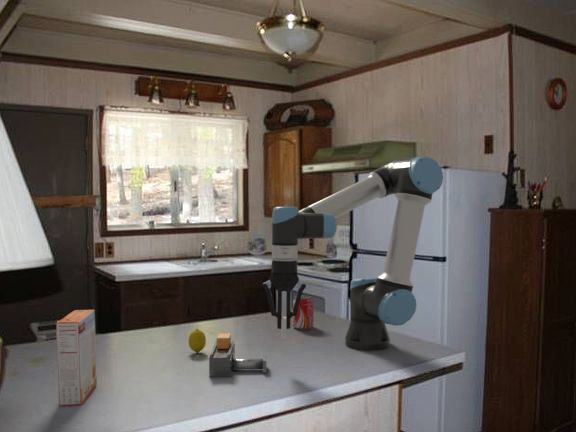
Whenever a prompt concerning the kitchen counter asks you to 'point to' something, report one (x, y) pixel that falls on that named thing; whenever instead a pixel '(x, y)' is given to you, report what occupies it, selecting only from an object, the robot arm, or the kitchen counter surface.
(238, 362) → the pin
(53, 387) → the kitchen counter surface
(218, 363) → the block
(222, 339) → the block
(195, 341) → the lemon
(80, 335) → the cracker box
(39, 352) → the kitchen counter surface
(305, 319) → the beverage can
